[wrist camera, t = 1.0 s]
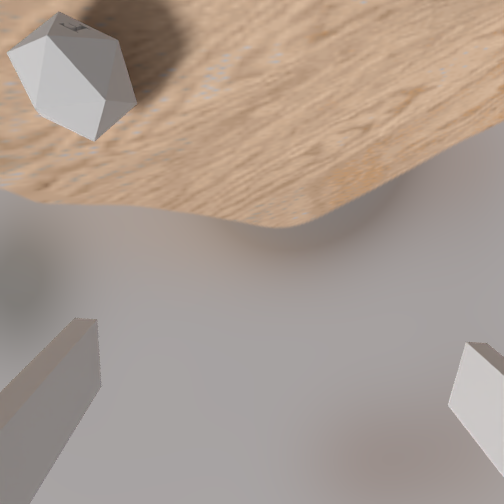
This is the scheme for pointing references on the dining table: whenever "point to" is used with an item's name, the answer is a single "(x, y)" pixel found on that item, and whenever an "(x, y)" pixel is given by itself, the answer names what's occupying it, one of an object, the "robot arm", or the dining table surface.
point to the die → (74, 75)
